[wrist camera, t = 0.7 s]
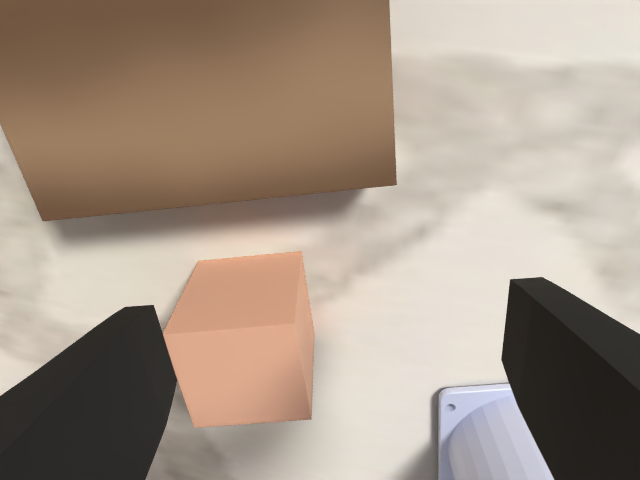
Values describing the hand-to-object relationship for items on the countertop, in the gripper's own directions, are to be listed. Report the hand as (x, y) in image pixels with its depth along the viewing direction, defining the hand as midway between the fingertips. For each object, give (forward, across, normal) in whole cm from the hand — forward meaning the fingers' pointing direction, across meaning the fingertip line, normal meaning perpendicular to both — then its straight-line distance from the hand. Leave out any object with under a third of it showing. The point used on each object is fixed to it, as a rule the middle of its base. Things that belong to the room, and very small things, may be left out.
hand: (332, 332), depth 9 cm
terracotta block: (+10, +4, +6) cm, 12 cm away
